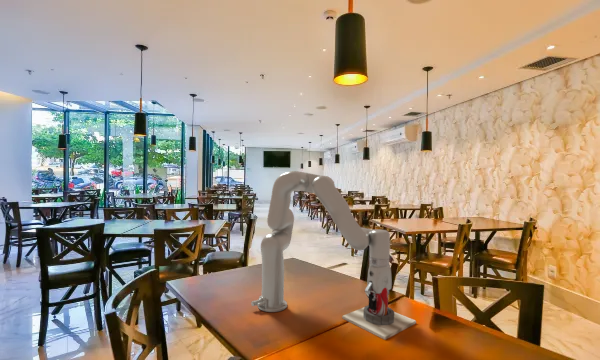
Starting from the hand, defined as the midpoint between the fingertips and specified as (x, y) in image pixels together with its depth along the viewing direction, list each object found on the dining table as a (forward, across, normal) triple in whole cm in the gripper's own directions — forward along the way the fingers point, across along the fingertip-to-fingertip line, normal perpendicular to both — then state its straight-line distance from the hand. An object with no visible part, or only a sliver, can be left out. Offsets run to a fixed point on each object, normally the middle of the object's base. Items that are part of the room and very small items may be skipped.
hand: (378, 306), depth 117 cm
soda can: (+3, 0, 0) cm, 3 cm away
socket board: (+6, 0, 0) cm, 6 cm away
